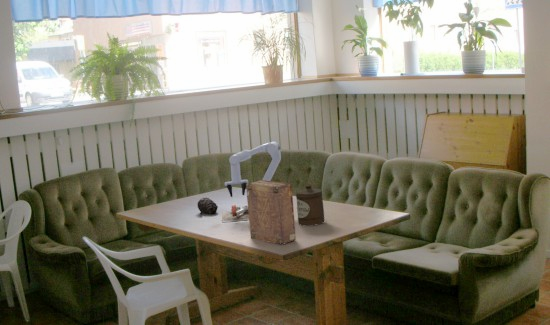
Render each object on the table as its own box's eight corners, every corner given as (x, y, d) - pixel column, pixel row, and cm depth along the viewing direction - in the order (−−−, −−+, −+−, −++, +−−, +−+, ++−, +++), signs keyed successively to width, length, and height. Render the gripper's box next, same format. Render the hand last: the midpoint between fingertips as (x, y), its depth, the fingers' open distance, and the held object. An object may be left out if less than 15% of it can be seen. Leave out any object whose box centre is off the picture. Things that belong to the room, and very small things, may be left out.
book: (250, 238, 384) (245, 182, 380) (263, 234, 390) (258, 179, 386) (282, 245, 365) (278, 186, 361) (296, 240, 371) (291, 183, 367)
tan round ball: (238, 212, 444) (237, 206, 443) (238, 213, 440) (237, 207, 439) (231, 213, 443) (230, 206, 443) (231, 214, 439) (231, 208, 439)
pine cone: (209, 217, 441) (208, 201, 440) (195, 213, 455) (193, 198, 454) (224, 214, 447) (222, 198, 446) (209, 210, 461) (207, 195, 460)
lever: (244, 209, 445) (243, 199, 444) (251, 209, 443) (250, 200, 442) (230, 216, 429) (229, 206, 428) (236, 216, 427) (235, 206, 426)
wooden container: (293, 222, 411) (290, 184, 408) (317, 218, 417) (314, 180, 413) (305, 227, 397) (302, 188, 394) (329, 222, 403) (326, 184, 400)
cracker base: (254, 210, 449) (253, 204, 449) (256, 219, 426) (255, 212, 425) (221, 213, 448) (221, 207, 447) (222, 222, 424) (221, 215, 424)
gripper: (226, 176, 439) (227, 198, 441) (249, 173, 443) (250, 195, 446) (223, 174, 445) (224, 196, 448) (245, 172, 450) (247, 193, 452)
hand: (237, 195), depth 447 cm, fingers open, 7 cm apart
